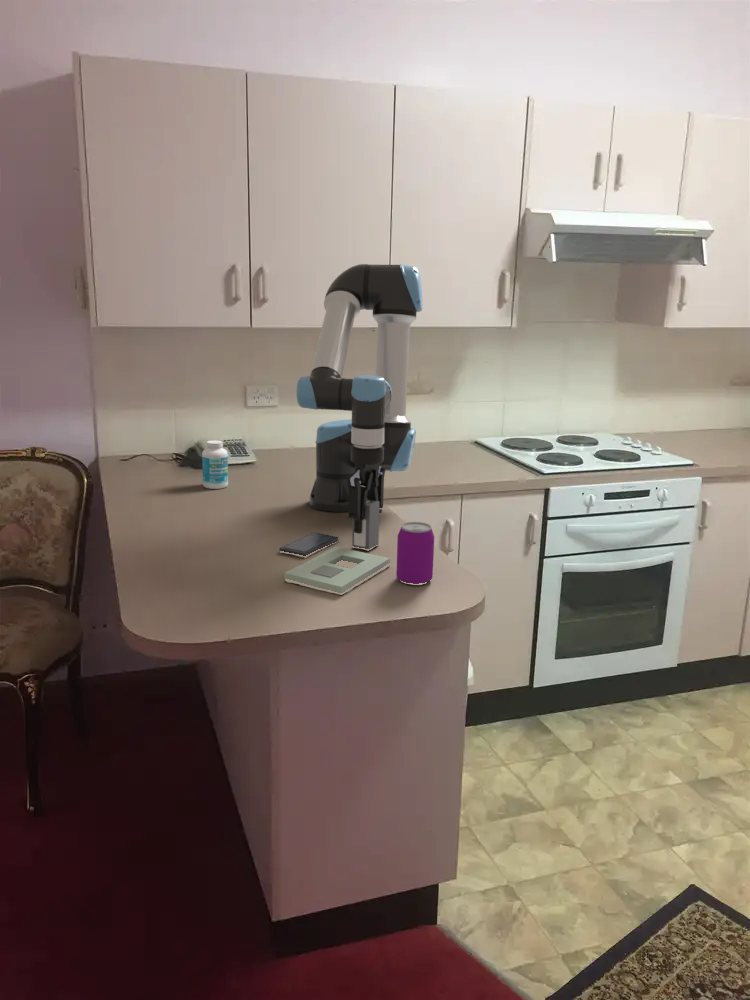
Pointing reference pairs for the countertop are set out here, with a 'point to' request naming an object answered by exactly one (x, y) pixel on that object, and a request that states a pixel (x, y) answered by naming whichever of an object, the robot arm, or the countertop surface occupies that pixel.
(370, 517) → the brick
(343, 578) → the outlet plate
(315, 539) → the phone
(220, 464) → the pill bottle
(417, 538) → the beverage can
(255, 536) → the countertop surface
